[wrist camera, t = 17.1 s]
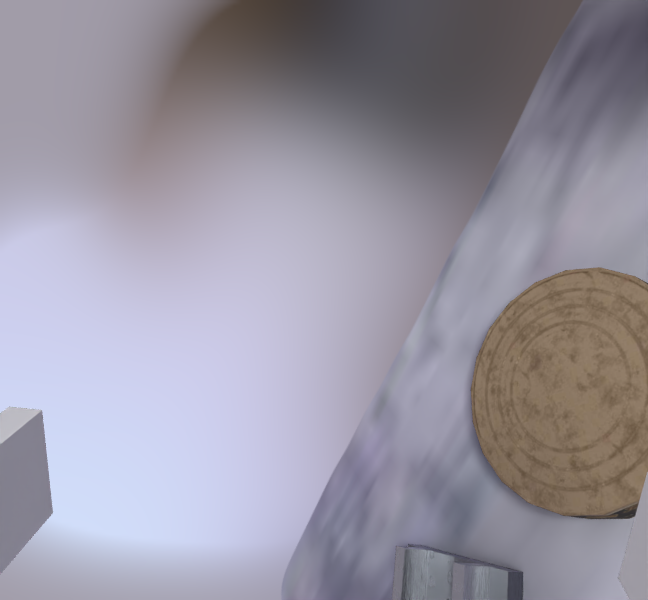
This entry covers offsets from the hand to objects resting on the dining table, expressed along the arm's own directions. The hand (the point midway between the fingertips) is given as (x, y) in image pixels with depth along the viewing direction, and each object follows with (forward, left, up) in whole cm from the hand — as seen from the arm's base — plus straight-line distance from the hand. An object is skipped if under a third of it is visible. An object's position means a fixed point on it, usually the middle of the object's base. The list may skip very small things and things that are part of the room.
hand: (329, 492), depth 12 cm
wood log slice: (-8, -11, -27) cm, 30 cm away
